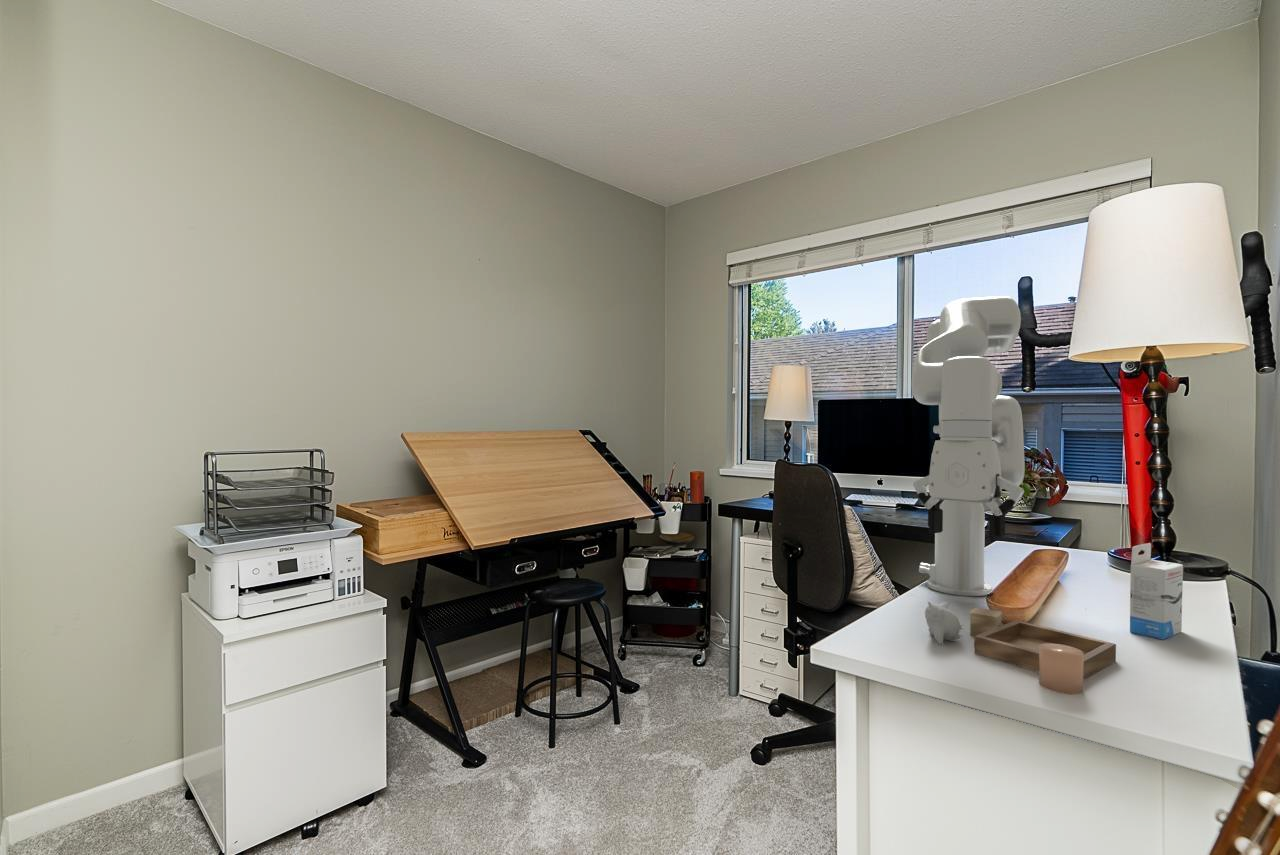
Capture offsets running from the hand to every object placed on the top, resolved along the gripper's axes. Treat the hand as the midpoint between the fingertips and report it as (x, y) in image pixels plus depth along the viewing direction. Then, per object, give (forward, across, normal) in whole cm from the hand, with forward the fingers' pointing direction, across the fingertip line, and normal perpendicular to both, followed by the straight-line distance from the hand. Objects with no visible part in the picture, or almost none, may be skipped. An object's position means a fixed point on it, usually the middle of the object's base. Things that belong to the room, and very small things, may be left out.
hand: (964, 536), depth 104 cm
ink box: (+16, +18, +31) cm, 40 cm away
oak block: (+17, +1, +6) cm, 18 cm away
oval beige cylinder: (+18, +16, -8) cm, 25 cm away
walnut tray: (+17, +11, +2) cm, 20 cm away
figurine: (+17, -2, -3) cm, 18 cm away
